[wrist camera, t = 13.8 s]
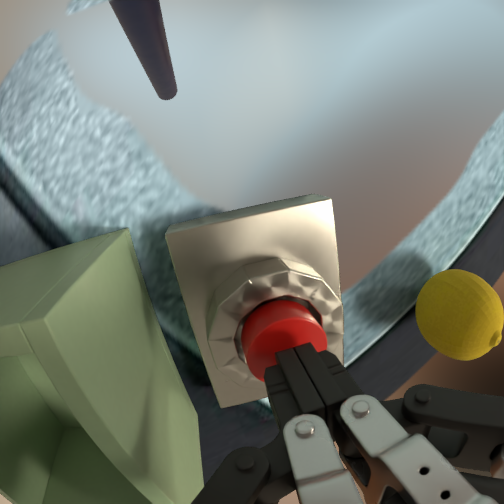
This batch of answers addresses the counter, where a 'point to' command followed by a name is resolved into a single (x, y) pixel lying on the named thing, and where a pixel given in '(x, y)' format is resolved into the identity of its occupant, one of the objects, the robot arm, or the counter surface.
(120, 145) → the counter surface
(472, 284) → the lemon
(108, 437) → the green lidded box
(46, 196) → the counter surface
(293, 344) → the button
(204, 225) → the switch block
